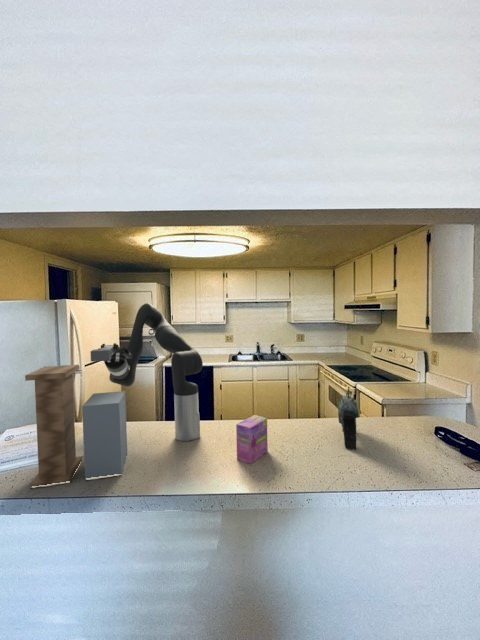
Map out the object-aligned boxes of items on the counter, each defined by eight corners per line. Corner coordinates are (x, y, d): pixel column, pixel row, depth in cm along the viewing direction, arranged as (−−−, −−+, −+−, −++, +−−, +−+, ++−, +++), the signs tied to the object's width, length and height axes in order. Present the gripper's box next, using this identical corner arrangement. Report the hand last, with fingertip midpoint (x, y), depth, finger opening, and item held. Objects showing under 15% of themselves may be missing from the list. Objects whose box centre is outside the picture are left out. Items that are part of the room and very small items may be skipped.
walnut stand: (82, 460, 100) (78, 364, 99) (69, 483, 87) (65, 372, 86) (49, 464, 98) (44, 366, 97) (30, 489, 84) (25, 375, 83)
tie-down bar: (104, 352, 109) (104, 343, 109) (119, 351, 110) (119, 343, 110) (90, 361, 89) (90, 351, 89) (109, 360, 90) (108, 350, 90)
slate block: (127, 454, 104) (125, 391, 103) (121, 475, 90) (119, 402, 90) (95, 458, 101) (93, 393, 101) (85, 481, 88) (82, 406, 87)
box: (250, 464, 95) (249, 427, 95) (236, 459, 99) (235, 423, 98) (268, 451, 103) (267, 417, 103) (254, 447, 107) (253, 414, 106)
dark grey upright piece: (360, 452, 101) (359, 393, 101) (339, 450, 103) (338, 392, 102) (353, 429, 120) (353, 379, 120) (336, 428, 122) (336, 379, 122)
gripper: (98, 355, 119) (87, 336, 104) (135, 353, 122) (130, 335, 107) (96, 374, 115) (85, 357, 100) (135, 371, 119) (130, 355, 104)
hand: (109, 346), depth 104 cm, fingers closed on tie-down bar, 3 cm apart
